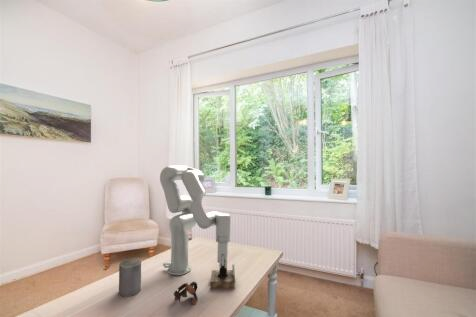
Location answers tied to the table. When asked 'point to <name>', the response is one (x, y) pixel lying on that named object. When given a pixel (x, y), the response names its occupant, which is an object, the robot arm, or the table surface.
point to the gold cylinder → (219, 271)
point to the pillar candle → (129, 277)
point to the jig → (223, 280)
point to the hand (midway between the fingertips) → (223, 273)
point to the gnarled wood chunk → (184, 291)
